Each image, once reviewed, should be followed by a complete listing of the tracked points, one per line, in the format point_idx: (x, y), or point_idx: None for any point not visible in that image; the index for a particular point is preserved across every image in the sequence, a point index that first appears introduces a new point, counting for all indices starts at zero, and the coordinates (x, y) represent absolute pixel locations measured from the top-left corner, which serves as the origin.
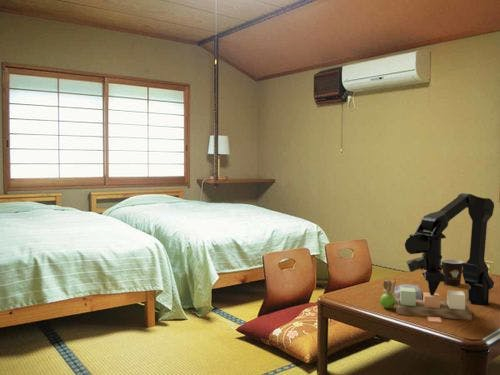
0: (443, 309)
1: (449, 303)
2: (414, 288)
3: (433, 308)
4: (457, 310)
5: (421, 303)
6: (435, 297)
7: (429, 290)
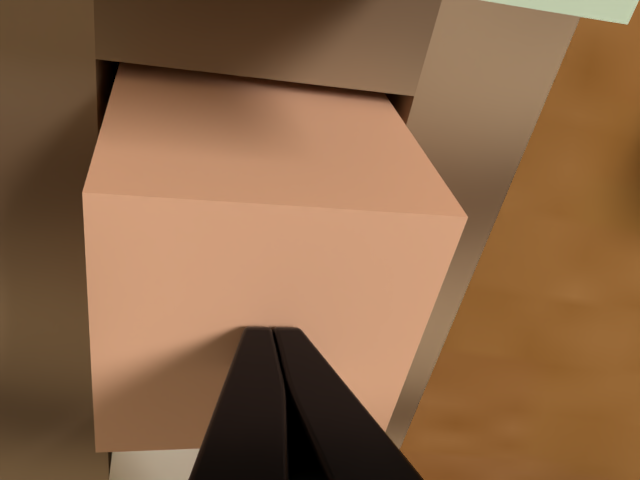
0: (41, 333)
1: (113, 460)
2: (593, 8)
3: (41, 210)
4: (55, 458)
5: (320, 60)
6: (94, 383)
7: (239, 400)
